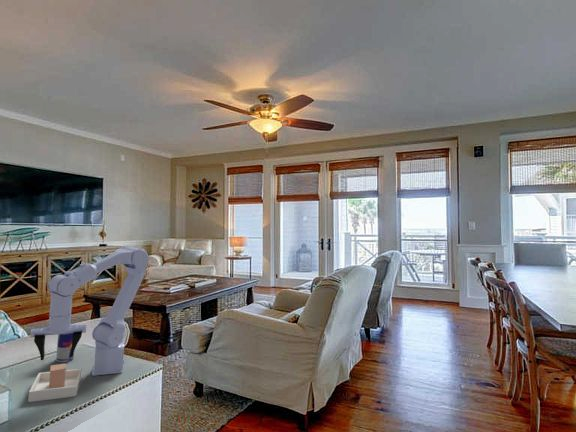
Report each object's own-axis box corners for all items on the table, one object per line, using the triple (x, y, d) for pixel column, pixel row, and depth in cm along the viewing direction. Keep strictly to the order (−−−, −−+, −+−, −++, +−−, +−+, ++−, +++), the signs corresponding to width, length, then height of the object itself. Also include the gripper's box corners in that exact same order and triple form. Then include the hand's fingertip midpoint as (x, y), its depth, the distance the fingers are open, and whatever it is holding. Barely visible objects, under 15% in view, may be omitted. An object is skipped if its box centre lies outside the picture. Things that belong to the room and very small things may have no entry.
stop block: (64, 381, 112) (65, 363, 112) (64, 387, 109) (65, 368, 109) (49, 384, 110) (50, 365, 110) (48, 390, 107) (50, 371, 107)
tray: (81, 377, 117) (81, 368, 117) (76, 396, 106) (76, 386, 106) (38, 382, 112) (38, 372, 112) (28, 402, 102) (28, 391, 101)
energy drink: (65, 363, 126) (67, 330, 126) (52, 361, 127) (54, 328, 127) (76, 357, 131) (79, 326, 131) (64, 355, 132) (67, 324, 132)
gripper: (87, 308, 116) (84, 349, 117) (33, 311, 109) (30, 355, 109) (87, 315, 110) (84, 357, 110) (30, 318, 103) (27, 364, 103)
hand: (57, 357), depth 110 cm, fingers open, 7 cm apart
